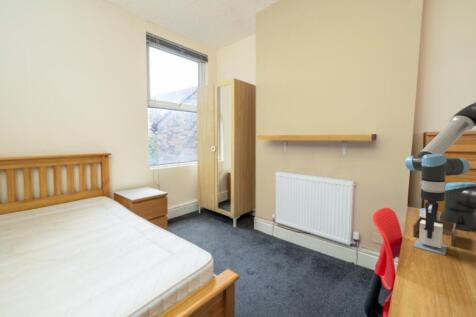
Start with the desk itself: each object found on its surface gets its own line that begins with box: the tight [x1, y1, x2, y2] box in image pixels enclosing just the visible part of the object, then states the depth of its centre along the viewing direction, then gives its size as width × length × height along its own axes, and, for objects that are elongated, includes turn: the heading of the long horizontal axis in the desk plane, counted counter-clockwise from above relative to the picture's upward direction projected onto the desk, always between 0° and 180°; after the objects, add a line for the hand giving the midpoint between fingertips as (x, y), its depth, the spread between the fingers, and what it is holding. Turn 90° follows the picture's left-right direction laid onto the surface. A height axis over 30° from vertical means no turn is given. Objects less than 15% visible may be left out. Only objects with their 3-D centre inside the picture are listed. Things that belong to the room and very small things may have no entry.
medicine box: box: [418, 207, 439, 220], centre depth 113 cm, size 8×4×9 cm, turn 168°
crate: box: [412, 216, 457, 247], centre depth 102 cm, size 15×14×6 cm
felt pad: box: [412, 238, 448, 256], centre depth 92 cm, size 10×10×1 cm
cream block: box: [418, 220, 444, 248], centre depth 92 cm, size 5×7×9 cm
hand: (430, 242), depth 92 cm, fingers closed on cream block, 5 cm apart
